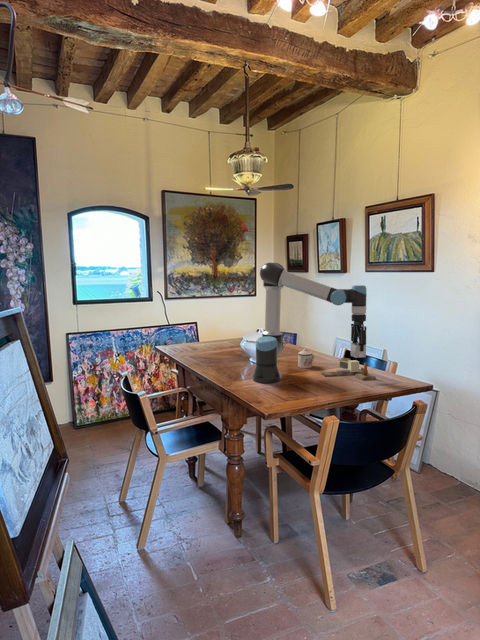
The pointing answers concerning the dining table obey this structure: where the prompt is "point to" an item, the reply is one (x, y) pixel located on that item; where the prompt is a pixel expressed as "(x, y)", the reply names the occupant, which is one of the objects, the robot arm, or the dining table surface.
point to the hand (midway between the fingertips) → (358, 355)
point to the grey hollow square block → (356, 350)
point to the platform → (344, 362)
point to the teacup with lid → (305, 359)
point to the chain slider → (351, 366)
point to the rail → (342, 373)
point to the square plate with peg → (365, 374)
